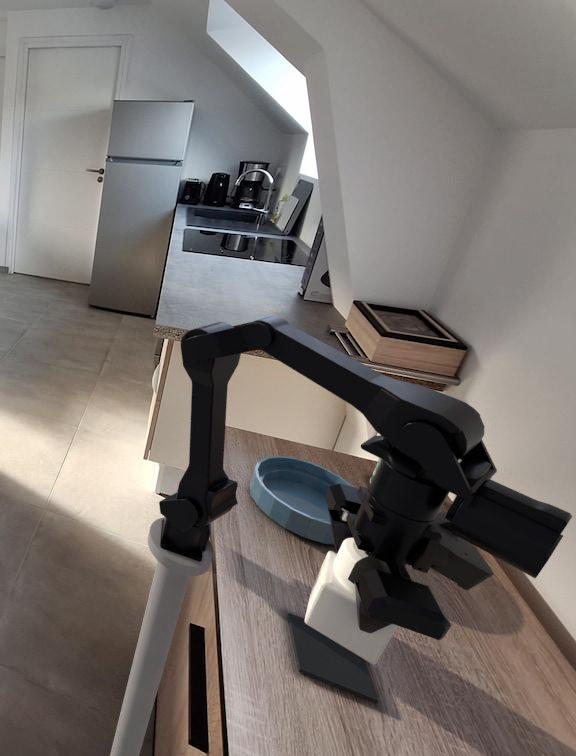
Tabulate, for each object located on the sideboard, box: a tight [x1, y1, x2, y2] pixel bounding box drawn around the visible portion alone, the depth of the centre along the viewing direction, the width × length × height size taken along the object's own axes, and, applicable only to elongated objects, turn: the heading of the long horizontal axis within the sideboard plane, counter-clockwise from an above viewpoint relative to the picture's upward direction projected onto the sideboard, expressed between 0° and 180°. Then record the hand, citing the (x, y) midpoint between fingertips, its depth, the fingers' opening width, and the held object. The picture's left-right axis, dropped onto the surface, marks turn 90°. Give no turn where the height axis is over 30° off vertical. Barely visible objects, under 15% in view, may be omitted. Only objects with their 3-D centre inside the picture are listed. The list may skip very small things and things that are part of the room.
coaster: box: [287, 612, 379, 704], centre depth 59 cm, size 8×8×1 cm
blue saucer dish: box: [248, 455, 355, 546], centre depth 83 cm, size 17×17×5 cm
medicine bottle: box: [304, 538, 398, 665], centre depth 55 cm, size 7×7×12 cm
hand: (353, 599), depth 56 cm, fingers closed on medicine bottle, 8 cm apart
